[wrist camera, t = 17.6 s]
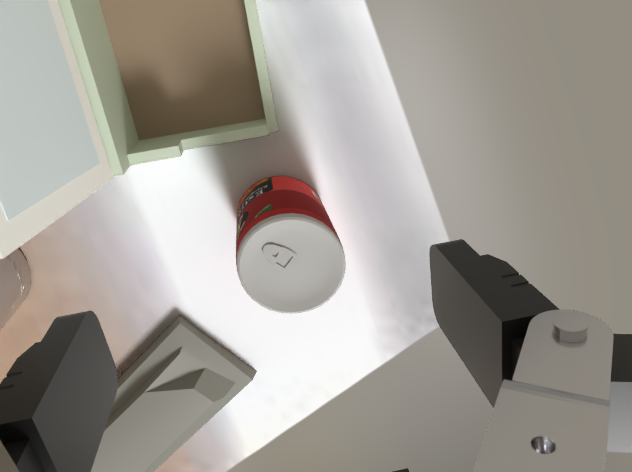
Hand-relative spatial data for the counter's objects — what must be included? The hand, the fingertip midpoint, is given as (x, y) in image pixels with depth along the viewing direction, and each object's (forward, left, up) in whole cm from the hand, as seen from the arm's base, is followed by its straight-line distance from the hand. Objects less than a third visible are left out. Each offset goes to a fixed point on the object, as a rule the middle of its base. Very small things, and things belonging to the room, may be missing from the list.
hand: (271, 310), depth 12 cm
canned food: (+1, -10, -33) cm, 35 cm away
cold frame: (-4, +6, -33) cm, 34 cm away
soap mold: (-15, -28, -34) cm, 47 cm away
